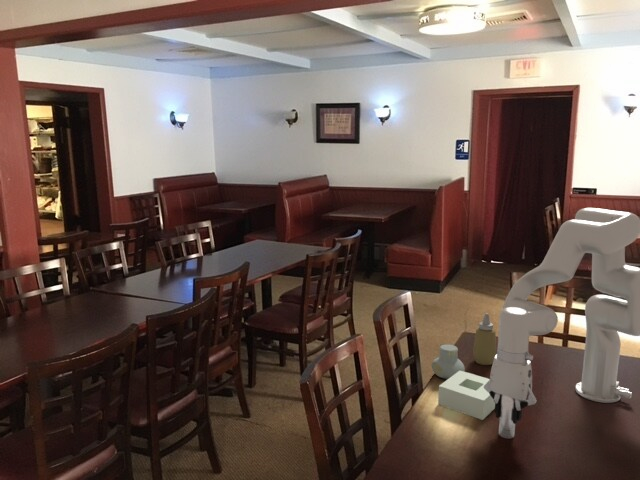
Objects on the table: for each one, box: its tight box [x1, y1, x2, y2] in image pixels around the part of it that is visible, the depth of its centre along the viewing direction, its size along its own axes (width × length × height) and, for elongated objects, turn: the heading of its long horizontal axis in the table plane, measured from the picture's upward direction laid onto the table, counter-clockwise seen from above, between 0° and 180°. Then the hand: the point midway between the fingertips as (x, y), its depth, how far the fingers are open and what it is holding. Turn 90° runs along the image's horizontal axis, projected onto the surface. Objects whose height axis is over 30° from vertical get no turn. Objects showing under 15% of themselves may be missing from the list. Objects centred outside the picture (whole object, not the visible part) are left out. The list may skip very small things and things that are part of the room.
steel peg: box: [498, 395, 516, 439], centre depth 144 cm, size 4×4×14 cm
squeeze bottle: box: [472, 312, 497, 366], centre depth 190 cm, size 8×8×18 cm
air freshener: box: [431, 344, 466, 380], centre depth 180 cm, size 11×8×10 cm
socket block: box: [437, 371, 495, 421], centre depth 162 cm, size 14×14×6 cm
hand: (507, 418), depth 145 cm, fingers closed on steel peg, 4 cm apart
